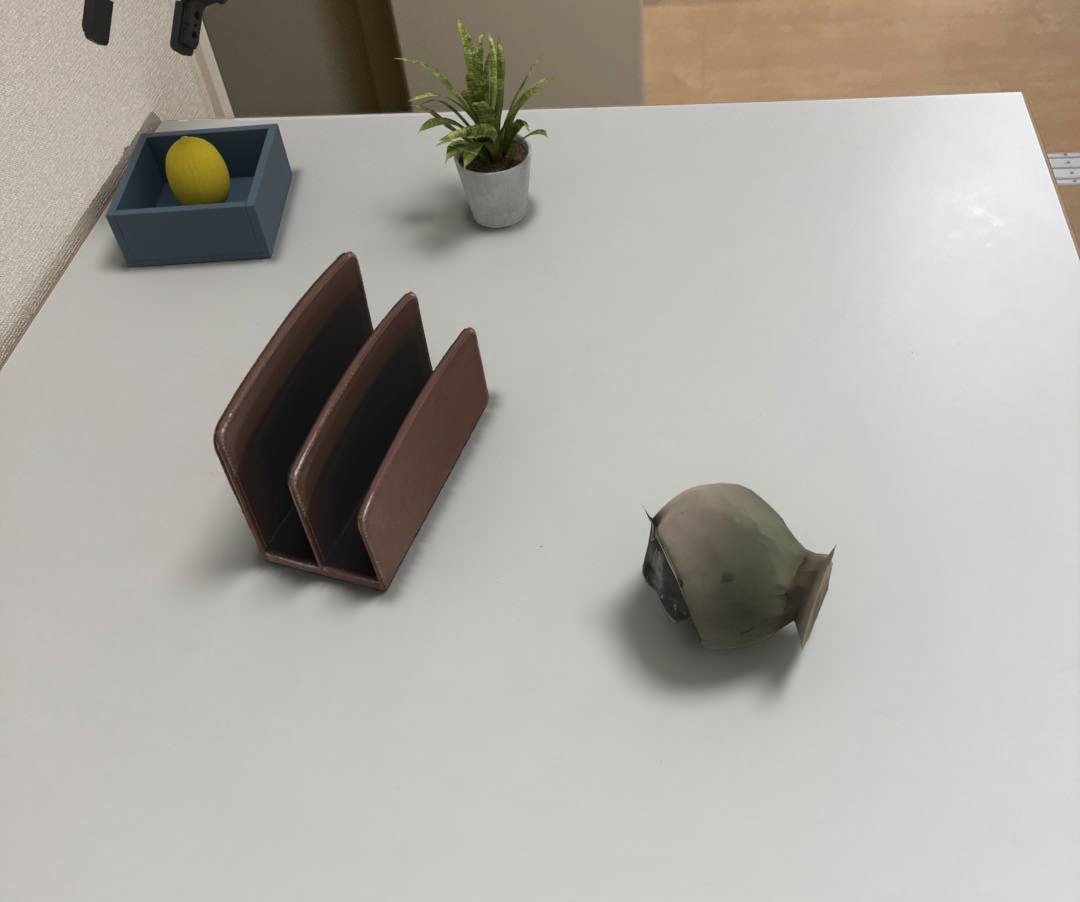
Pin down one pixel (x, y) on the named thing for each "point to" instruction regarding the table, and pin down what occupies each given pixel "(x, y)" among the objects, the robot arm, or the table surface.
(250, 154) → the bin
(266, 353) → the letter holder
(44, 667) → the table surface
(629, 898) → the table surface
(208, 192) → the lemon
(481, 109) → the house plant
